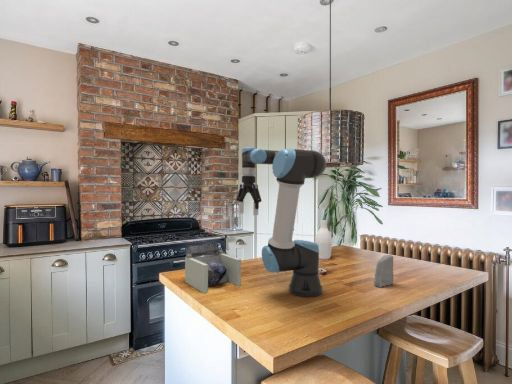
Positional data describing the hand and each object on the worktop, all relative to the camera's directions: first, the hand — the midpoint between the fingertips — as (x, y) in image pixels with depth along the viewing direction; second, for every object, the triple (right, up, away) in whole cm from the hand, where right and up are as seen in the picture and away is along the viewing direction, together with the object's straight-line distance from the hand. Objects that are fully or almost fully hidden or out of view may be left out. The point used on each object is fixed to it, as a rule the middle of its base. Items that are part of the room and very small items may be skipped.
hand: (248, 214), depth 173 cm
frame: (-17, -33, -19) cm, 41 cm away
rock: (-17, -29, -18) cm, 38 cm away
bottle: (+50, -33, +40) cm, 72 cm away
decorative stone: (+67, -34, -19) cm, 77 cm away
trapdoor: (-22, -28, -12) cm, 37 cm away
